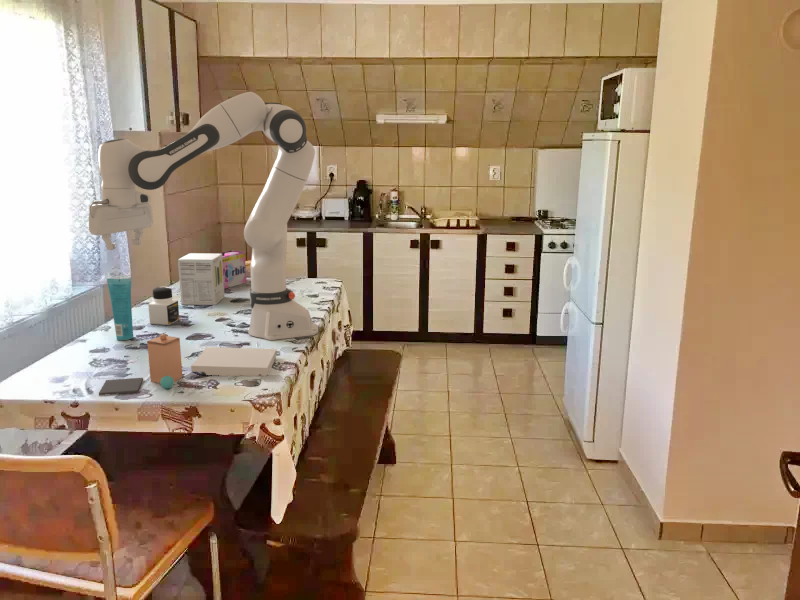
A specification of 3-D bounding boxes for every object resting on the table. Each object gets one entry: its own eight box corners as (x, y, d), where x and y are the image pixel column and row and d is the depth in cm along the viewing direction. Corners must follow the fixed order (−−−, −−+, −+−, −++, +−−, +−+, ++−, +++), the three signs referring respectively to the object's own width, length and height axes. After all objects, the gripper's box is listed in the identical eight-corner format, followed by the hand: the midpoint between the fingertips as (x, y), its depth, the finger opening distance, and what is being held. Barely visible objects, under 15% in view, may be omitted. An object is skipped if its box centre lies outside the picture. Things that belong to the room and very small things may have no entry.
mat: (143, 379, 173) (143, 377, 173) (137, 392, 164) (137, 390, 164) (106, 382, 171) (106, 380, 171) (98, 395, 162) (98, 393, 162)
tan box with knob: (166, 374, 177) (162, 330, 174) (182, 377, 175) (179, 333, 172) (150, 381, 172) (146, 336, 169) (167, 384, 170) (163, 339, 167)
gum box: (208, 293, 266) (206, 260, 262) (193, 291, 269) (191, 258, 266) (247, 282, 287) (245, 251, 283) (232, 280, 290) (231, 249, 287)
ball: (174, 385, 169) (173, 373, 168) (173, 390, 166) (172, 378, 165) (161, 386, 168) (160, 374, 168) (160, 390, 165) (159, 378, 165)
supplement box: (215, 305, 248) (212, 259, 244) (180, 304, 248) (177, 259, 244) (225, 296, 261) (222, 253, 256) (192, 296, 261) (189, 252, 257)
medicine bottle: (168, 325, 221) (165, 290, 219) (149, 324, 223) (146, 289, 220) (179, 319, 228) (177, 286, 225) (161, 318, 230) (158, 284, 227)
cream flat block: (276, 360, 191) (206, 358, 190) (276, 349, 190) (206, 347, 190) (267, 379, 176) (191, 377, 176) (267, 367, 176) (191, 365, 175)
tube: (139, 335, 210) (133, 276, 205) (134, 340, 205) (129, 280, 201) (114, 336, 209) (108, 277, 204) (109, 341, 204) (103, 280, 200)
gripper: (97, 201, 174) (103, 253, 177) (154, 195, 192) (158, 242, 195) (80, 200, 176) (85, 251, 180) (137, 194, 194) (142, 241, 198)
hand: (124, 247), depth 188 cm, fingers open, 8 cm apart
